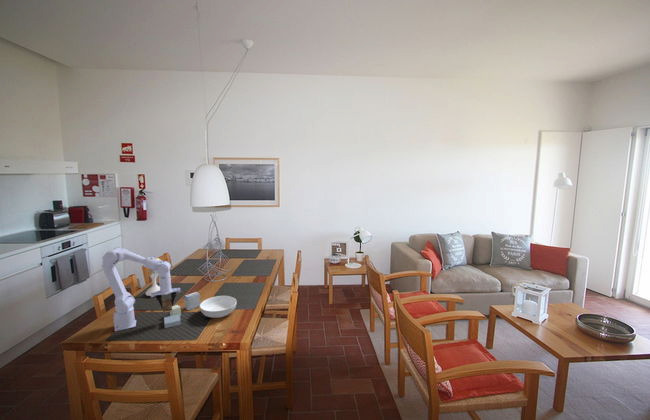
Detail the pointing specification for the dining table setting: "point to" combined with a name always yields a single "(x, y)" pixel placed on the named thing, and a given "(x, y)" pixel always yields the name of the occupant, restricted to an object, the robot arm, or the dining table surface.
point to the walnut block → (167, 304)
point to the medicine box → (192, 300)
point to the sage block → (175, 310)
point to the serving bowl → (218, 306)
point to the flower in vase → (153, 284)
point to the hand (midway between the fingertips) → (167, 306)
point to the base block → (172, 321)
